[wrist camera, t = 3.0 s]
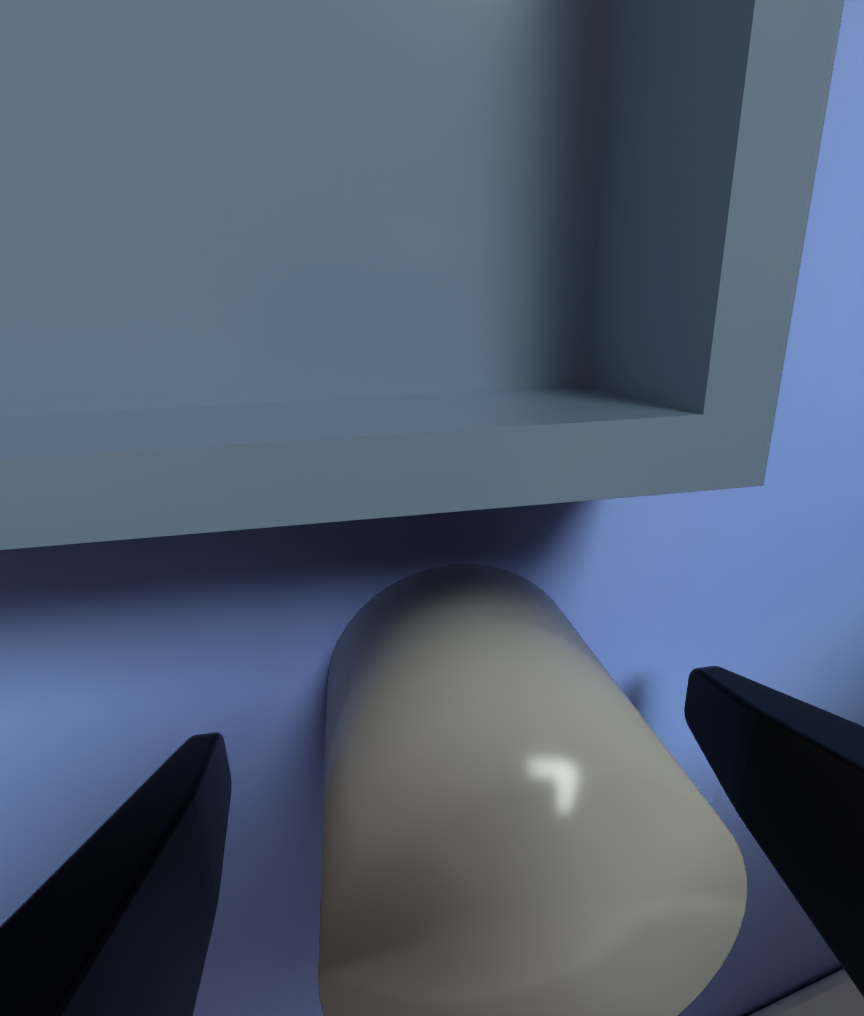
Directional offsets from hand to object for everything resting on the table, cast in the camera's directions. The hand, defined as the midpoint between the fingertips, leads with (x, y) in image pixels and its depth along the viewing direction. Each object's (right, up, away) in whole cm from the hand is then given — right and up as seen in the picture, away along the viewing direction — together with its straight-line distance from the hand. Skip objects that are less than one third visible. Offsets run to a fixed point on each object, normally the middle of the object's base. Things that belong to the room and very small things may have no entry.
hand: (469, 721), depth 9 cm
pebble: (0, 0, +1) cm, 1 cm away
